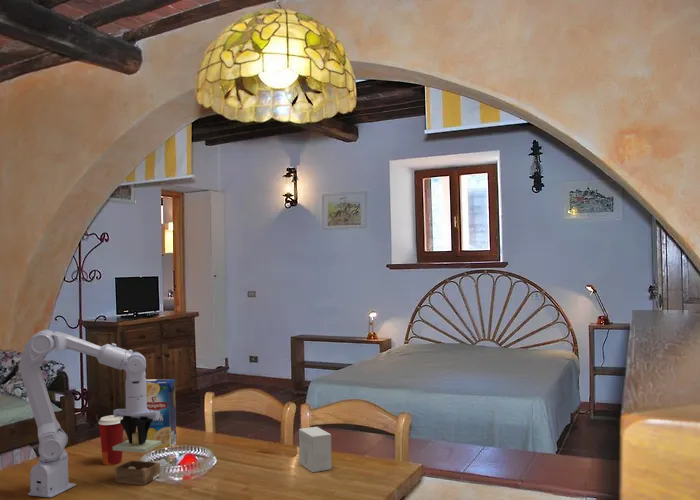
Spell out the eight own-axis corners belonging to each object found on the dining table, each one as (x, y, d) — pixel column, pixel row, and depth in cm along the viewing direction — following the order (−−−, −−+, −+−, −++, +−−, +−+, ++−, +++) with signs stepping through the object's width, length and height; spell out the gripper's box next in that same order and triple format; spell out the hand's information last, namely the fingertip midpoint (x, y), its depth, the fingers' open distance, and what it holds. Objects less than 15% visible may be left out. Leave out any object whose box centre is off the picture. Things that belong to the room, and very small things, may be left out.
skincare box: (332, 469, 184) (331, 433, 184) (312, 473, 181) (311, 436, 181) (318, 459, 193) (317, 425, 193) (298, 463, 190) (298, 428, 190)
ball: (132, 479, 178) (132, 468, 178) (123, 478, 179) (123, 468, 179) (139, 475, 181) (138, 465, 181) (130, 474, 182) (130, 464, 182)
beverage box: (145, 443, 216) (144, 379, 216) (176, 443, 215) (175, 379, 215) (137, 449, 209) (136, 383, 209) (170, 449, 208) (168, 382, 209)
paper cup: (129, 458, 199) (128, 414, 200) (118, 466, 192) (117, 420, 192) (106, 458, 200) (105, 414, 200) (94, 466, 193) (93, 420, 193)
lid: (144, 452, 175) (144, 438, 175) (112, 450, 178) (112, 436, 178) (161, 444, 182) (161, 430, 182) (130, 442, 185) (130, 428, 185)
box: (145, 485, 175) (144, 470, 175) (115, 482, 178) (114, 468, 178) (160, 476, 181) (159, 462, 181) (131, 474, 184) (130, 460, 184)
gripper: (166, 393, 182) (167, 440, 182) (124, 391, 186) (125, 437, 186) (151, 398, 175) (152, 447, 175) (108, 396, 180) (109, 444, 179)
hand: (137, 442), depth 180 cm, fingers closed on lid, 3 cm apart
